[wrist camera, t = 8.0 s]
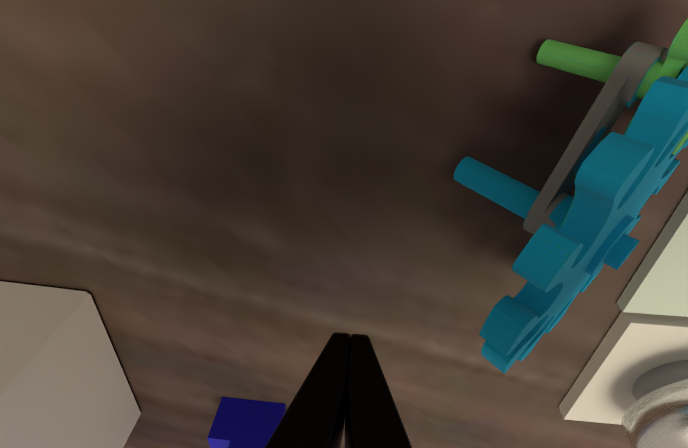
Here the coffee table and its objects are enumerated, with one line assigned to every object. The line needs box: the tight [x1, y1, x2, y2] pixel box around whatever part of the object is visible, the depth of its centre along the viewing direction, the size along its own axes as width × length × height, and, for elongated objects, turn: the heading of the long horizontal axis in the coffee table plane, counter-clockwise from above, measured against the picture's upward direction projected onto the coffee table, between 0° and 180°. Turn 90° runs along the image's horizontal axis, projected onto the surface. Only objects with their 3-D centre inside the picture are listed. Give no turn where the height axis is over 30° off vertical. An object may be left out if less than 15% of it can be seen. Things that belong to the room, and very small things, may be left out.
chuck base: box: [559, 312, 688, 424], centre depth 20 cm, size 9×9×2 cm
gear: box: [454, 19, 688, 374], centre depth 13 cm, size 11×6×10 cm
